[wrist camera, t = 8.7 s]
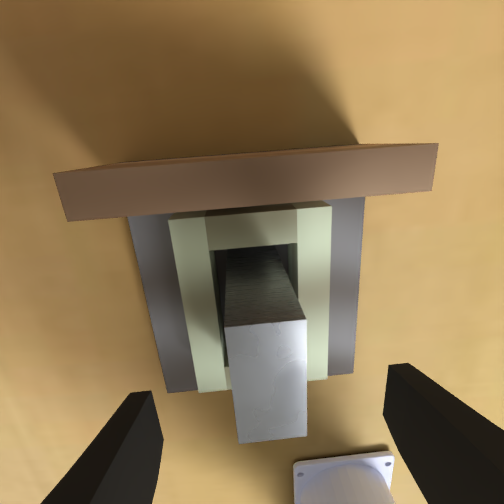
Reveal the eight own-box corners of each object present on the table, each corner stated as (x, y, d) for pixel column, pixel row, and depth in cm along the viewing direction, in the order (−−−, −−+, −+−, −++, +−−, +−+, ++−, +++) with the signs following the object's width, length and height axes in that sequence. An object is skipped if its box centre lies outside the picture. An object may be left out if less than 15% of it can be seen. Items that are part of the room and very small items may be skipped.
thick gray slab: (278, 324, 17) (307, 436, 11) (235, 328, 17) (238, 444, 10) (274, 244, 15) (306, 319, 9) (227, 248, 15) (224, 327, 9)
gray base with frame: (347, 362, 20) (393, 449, 14) (170, 381, 19) (145, 478, 14) (359, 144, 15) (438, 143, 9) (122, 162, 14) (52, 173, 9)
